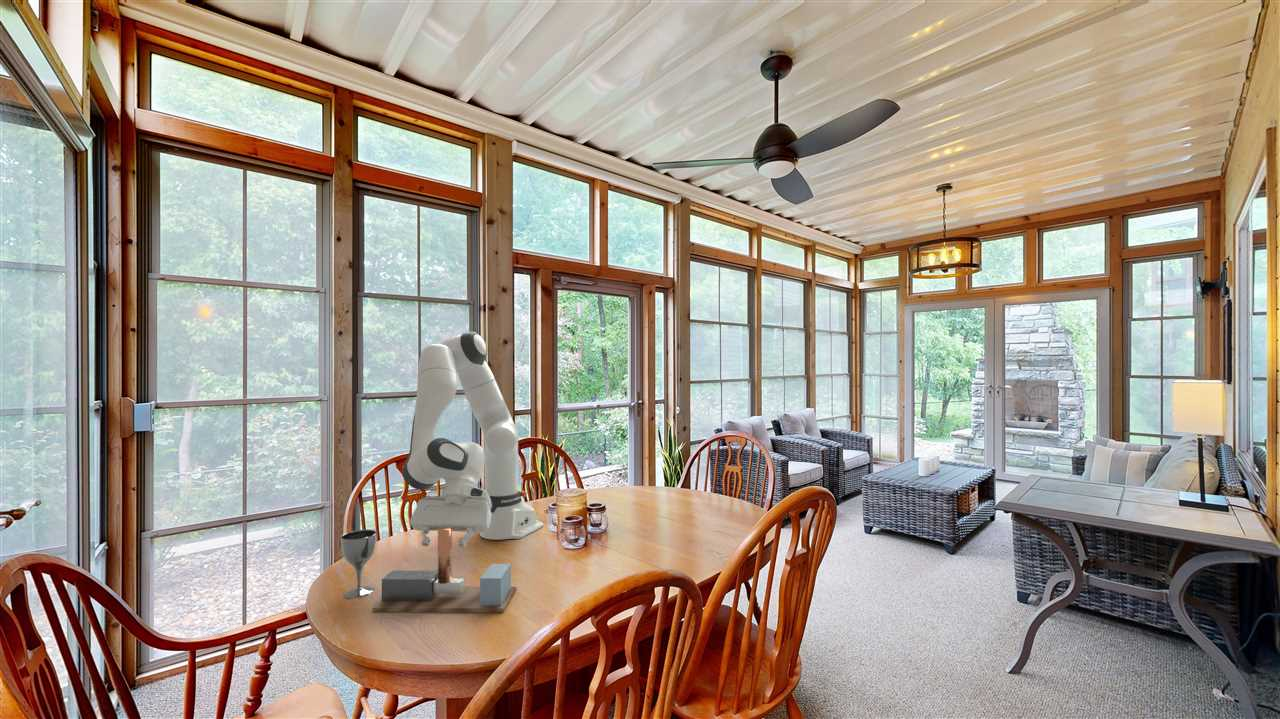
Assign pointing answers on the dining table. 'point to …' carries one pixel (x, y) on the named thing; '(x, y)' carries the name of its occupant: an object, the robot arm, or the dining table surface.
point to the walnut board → (446, 603)
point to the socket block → (495, 584)
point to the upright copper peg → (446, 565)
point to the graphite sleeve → (408, 586)
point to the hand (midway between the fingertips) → (443, 545)
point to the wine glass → (358, 557)
